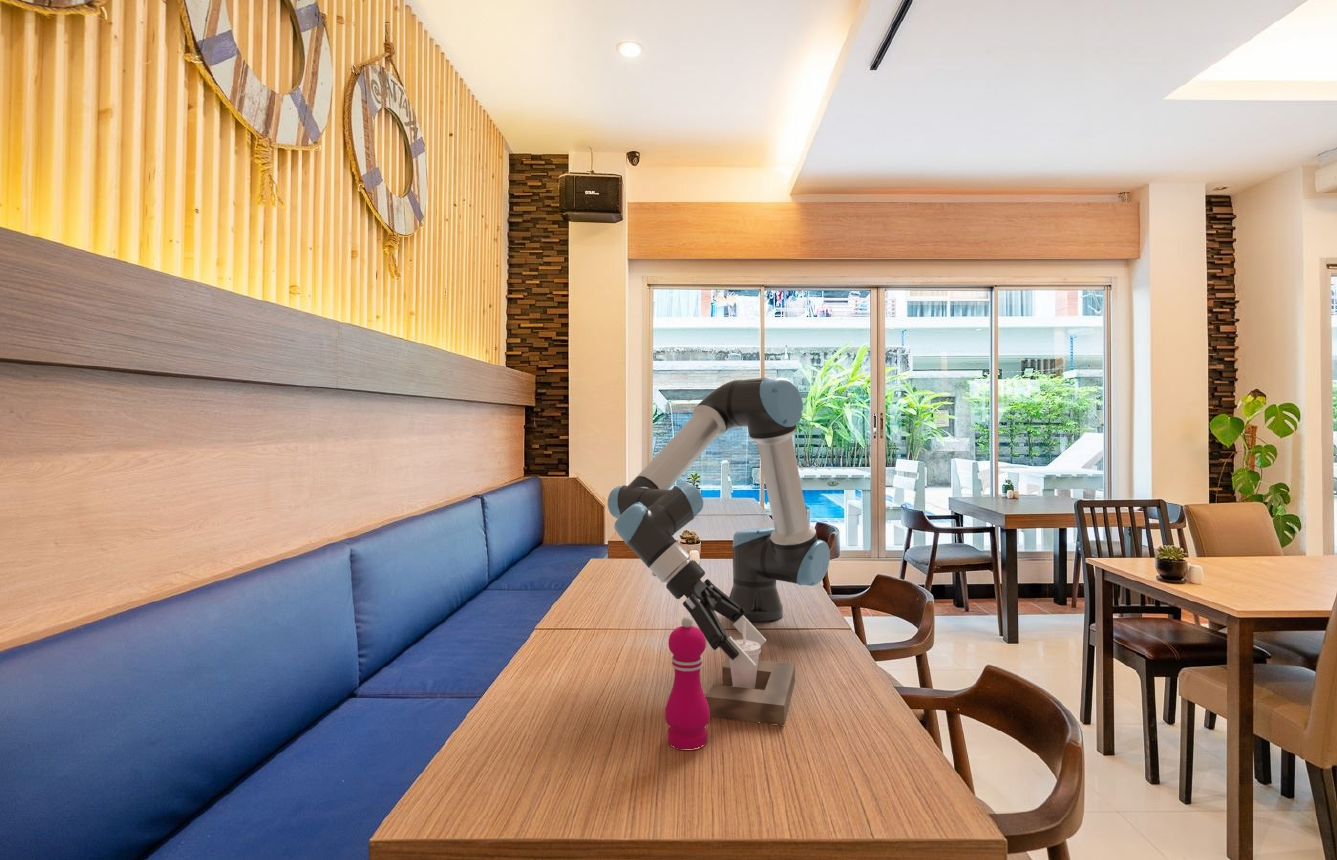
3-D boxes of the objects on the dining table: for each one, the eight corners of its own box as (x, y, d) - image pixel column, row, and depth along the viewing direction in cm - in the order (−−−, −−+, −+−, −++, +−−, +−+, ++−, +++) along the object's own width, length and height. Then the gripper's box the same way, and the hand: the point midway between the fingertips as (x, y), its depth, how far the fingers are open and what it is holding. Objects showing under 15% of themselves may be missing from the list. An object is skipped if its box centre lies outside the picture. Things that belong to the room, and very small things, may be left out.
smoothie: (764, 692, 122) (763, 618, 122) (757, 705, 116) (757, 628, 116) (731, 687, 124) (731, 615, 124) (723, 701, 118) (722, 625, 118)
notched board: (706, 716, 111) (705, 696, 111) (727, 674, 130) (727, 657, 131) (784, 726, 108) (784, 705, 108) (794, 681, 127) (794, 663, 127)
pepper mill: (695, 757, 97) (695, 626, 97) (656, 745, 101) (655, 619, 101) (717, 738, 104) (717, 614, 104) (679, 727, 107) (679, 608, 107)
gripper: (681, 570, 136) (752, 647, 132) (644, 601, 112) (729, 696, 108) (706, 547, 134) (778, 624, 130) (673, 572, 110) (760, 668, 106)
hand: (756, 657), depth 119 cm, fingers open, 13 cm apart
